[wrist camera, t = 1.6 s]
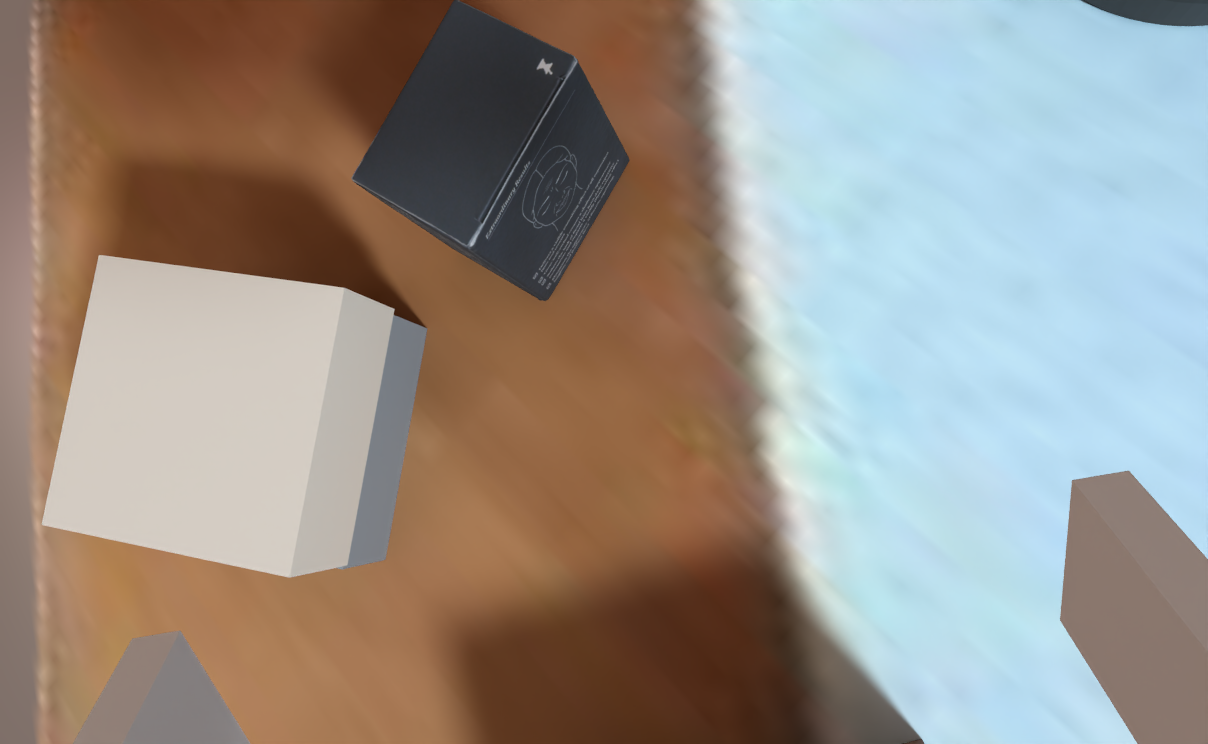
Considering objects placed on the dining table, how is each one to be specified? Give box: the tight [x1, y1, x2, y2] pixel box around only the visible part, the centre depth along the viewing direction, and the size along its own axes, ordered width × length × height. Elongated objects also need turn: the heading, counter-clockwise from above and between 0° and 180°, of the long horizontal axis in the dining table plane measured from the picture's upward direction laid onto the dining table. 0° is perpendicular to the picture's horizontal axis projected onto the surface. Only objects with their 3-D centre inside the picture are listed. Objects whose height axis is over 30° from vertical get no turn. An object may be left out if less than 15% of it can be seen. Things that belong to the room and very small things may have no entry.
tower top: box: [42, 255, 395, 578], centre depth 37 cm, size 11×11×4 cm
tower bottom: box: [337, 315, 427, 569], centre depth 41 cm, size 11×11×4 cm
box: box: [352, 0, 629, 301], centre depth 37 cm, size 8×6×11 cm
